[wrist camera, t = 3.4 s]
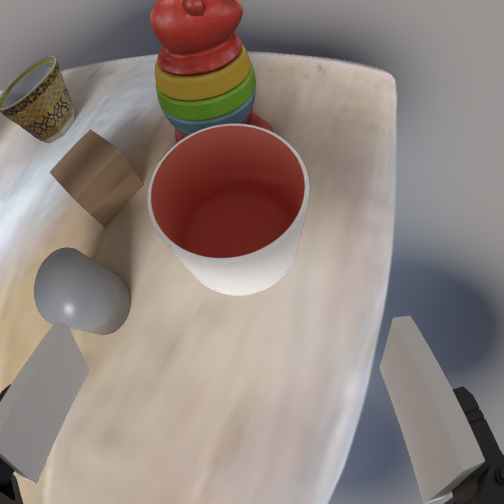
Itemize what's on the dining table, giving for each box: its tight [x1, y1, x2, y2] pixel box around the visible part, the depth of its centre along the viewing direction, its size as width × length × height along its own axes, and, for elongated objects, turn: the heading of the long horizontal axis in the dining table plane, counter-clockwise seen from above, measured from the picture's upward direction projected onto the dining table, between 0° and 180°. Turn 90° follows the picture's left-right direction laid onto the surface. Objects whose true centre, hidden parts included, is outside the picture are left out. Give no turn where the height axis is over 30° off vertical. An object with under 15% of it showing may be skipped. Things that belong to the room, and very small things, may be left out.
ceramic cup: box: [0, 56, 75, 143], centre depth 31 cm, size 13×10×10 cm
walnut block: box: [50, 129, 144, 227], centre depth 28 cm, size 6×6×6 cm
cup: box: [147, 124, 310, 295], centre depth 23 cm, size 10×10×10 cm
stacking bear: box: [150, 0, 274, 143], centre depth 24 cm, size 11×10×18 cm
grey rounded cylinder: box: [34, 248, 131, 335], centre depth 23 cm, size 6×6×7 cm
